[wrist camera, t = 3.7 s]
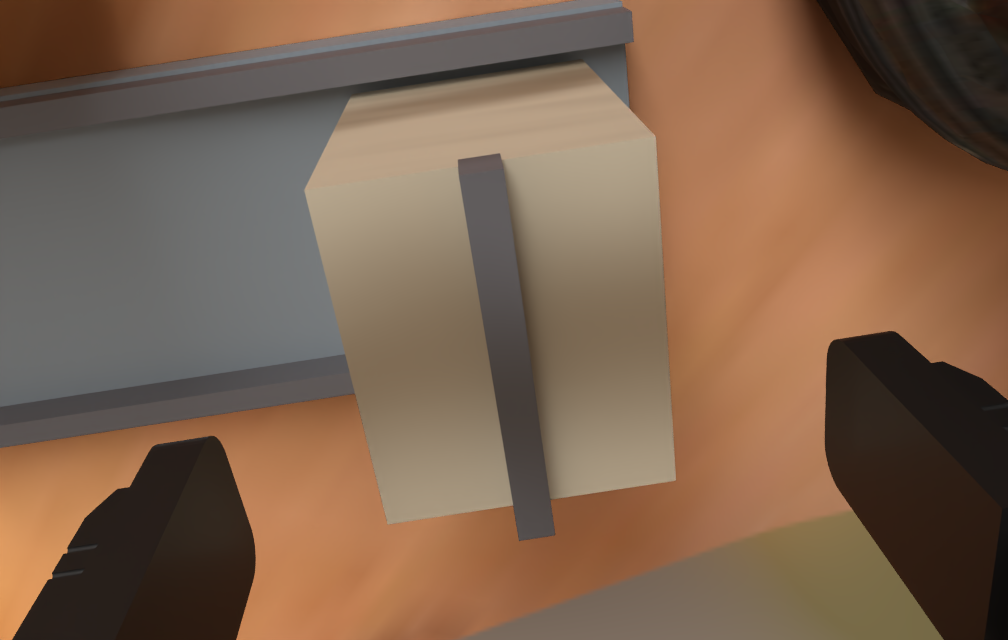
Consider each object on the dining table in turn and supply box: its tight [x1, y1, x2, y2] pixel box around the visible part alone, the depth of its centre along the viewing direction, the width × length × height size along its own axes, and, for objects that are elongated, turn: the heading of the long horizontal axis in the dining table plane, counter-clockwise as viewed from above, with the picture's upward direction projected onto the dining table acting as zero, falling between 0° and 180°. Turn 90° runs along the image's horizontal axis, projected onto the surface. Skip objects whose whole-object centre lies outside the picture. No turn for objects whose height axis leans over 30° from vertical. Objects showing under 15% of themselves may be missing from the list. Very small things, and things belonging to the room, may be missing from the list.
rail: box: [0, 0, 634, 448], centre depth 20 cm, size 8×19×2 cm, turn 98°
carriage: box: [304, 59, 676, 541], centre depth 16 cm, size 6×5×8 cm
